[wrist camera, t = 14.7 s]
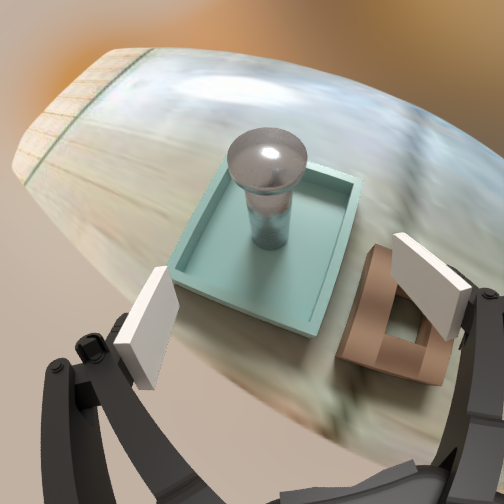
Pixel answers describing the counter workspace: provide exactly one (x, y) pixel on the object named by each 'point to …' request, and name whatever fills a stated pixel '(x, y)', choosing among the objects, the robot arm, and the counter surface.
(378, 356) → the holder
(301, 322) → the tray
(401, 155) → the counter surface
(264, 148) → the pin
